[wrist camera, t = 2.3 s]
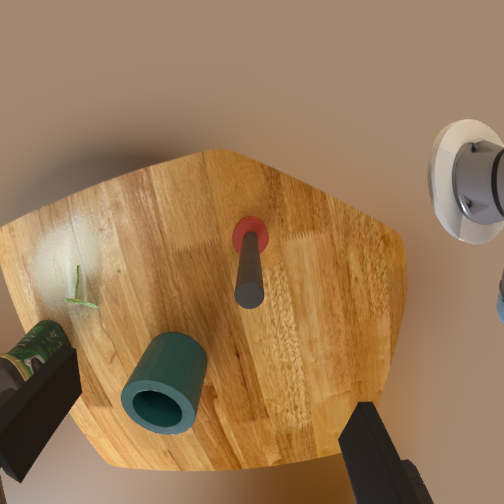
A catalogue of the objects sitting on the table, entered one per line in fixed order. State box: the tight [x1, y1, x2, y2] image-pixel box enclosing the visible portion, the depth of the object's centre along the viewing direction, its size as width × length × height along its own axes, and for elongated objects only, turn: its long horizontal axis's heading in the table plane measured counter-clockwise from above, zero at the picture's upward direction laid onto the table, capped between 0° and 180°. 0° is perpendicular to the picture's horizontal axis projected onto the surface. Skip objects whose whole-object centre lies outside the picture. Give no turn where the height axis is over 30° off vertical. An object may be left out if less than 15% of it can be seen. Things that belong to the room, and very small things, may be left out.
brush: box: [232, 216, 268, 309], centre depth 30 cm, size 4×4×24 cm
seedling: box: [54, 266, 99, 308], centre depth 42 cm, size 7×8×7 cm
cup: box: [121, 332, 207, 435], centre depth 40 cm, size 10×10×13 cm
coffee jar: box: [0, 320, 71, 392], centre depth 37 cm, size 10×8×19 cm
